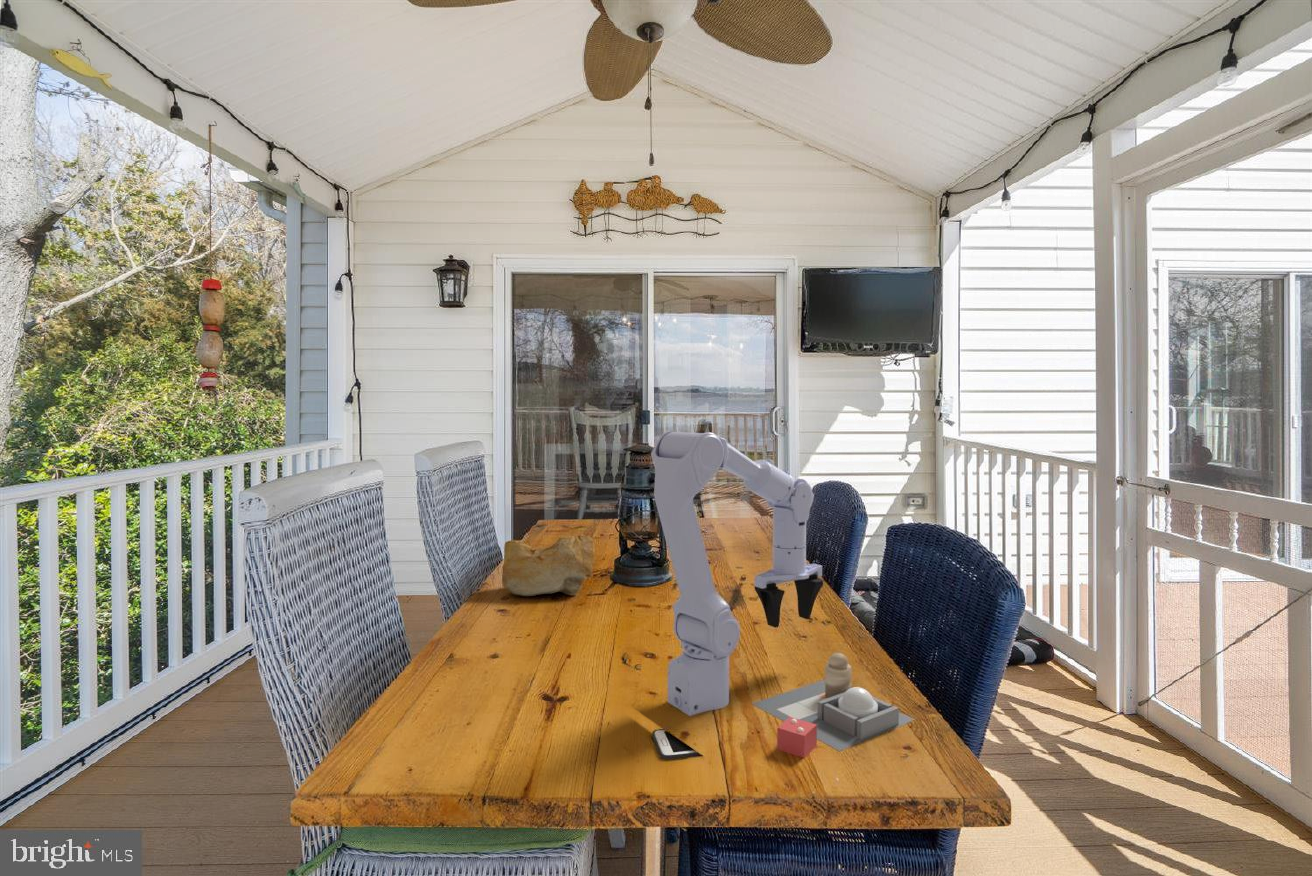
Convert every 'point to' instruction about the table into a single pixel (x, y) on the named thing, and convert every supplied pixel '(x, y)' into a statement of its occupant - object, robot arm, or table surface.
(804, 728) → the red die
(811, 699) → the game board
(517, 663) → the table surface
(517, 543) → the rough brown rock
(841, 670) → the pawn
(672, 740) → the cell phone
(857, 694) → the dome
